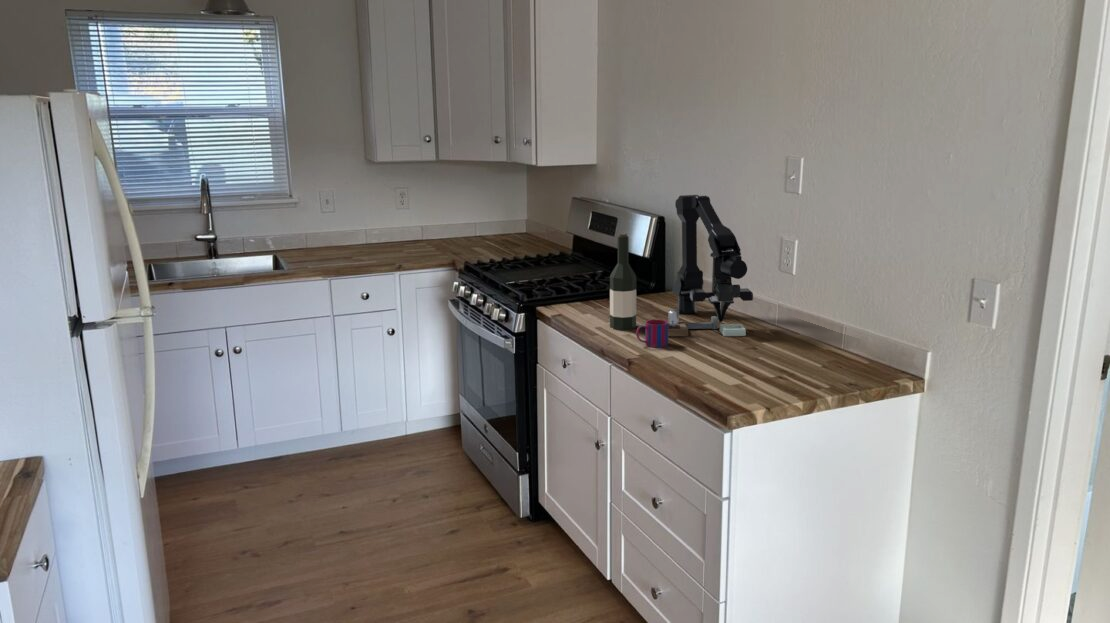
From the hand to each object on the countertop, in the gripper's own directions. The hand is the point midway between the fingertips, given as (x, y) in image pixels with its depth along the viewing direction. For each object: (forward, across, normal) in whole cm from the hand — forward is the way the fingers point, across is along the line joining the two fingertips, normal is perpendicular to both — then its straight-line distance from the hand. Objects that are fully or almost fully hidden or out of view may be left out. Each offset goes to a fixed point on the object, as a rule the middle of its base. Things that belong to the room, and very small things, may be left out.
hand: (720, 321), depth 257 cm
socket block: (+2, -15, -3) cm, 16 cm away
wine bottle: (+2, -30, +4) cm, 31 cm away
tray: (+2, +3, -6) cm, 7 cm away
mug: (+2, -24, -17) cm, 29 cm away
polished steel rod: (+2, -15, -5) cm, 16 cm away
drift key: (+2, -8, 0) cm, 8 cm away
